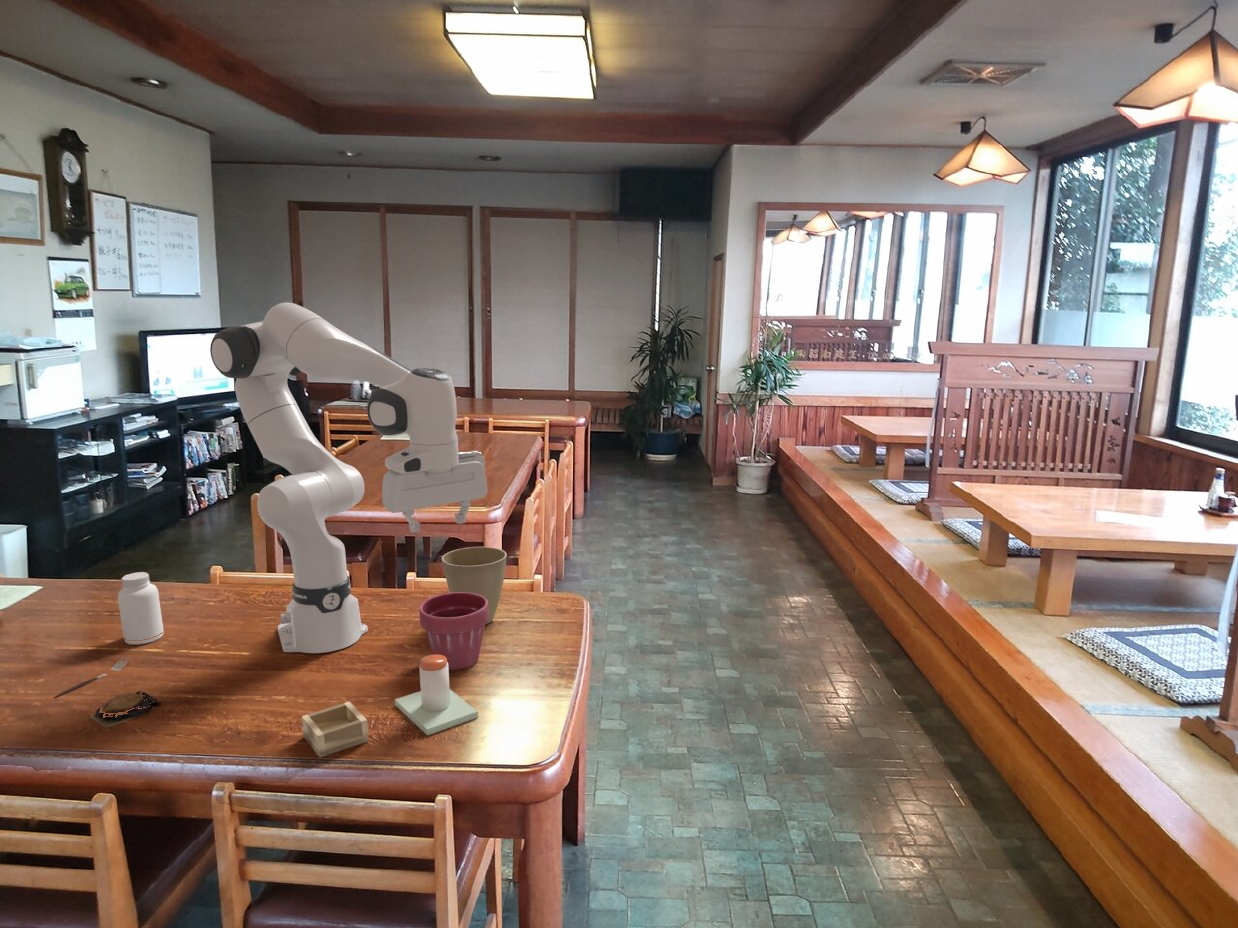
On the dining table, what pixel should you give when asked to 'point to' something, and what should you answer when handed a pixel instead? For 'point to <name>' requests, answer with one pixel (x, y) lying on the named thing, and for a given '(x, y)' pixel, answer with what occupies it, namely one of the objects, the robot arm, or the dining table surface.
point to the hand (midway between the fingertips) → (438, 527)
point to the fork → (92, 679)
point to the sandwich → (124, 708)
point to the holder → (335, 729)
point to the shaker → (434, 683)
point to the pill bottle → (139, 609)
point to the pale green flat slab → (436, 713)
